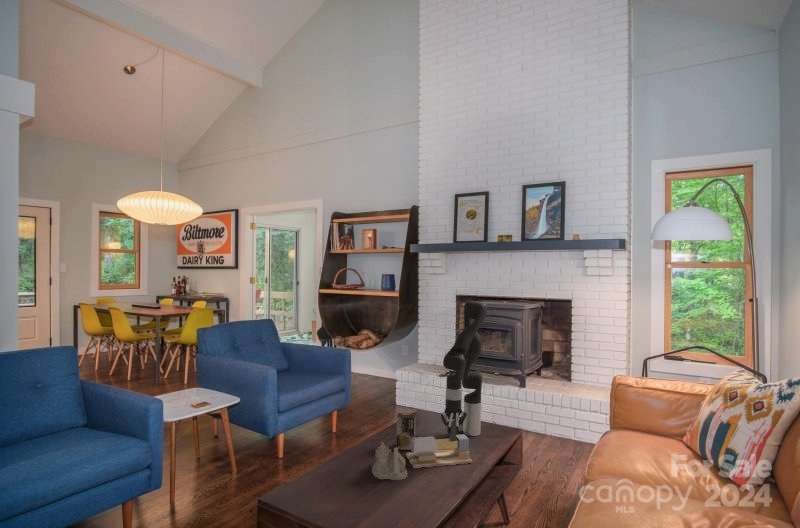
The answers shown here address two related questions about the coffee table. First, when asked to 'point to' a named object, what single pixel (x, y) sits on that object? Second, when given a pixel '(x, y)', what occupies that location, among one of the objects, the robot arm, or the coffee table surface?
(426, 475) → the coffee table surface
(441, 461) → the birch board
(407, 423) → the coffee box
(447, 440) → the multicoloured piece
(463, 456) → the slate-blue socket
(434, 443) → the grey and tan block
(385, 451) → the ceramic cottage
